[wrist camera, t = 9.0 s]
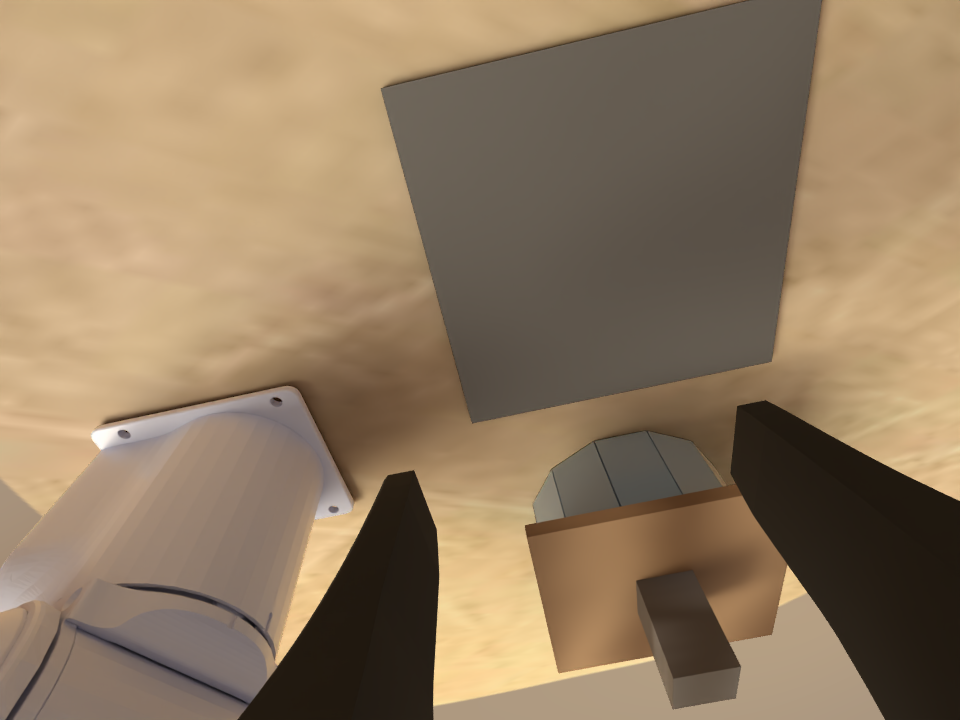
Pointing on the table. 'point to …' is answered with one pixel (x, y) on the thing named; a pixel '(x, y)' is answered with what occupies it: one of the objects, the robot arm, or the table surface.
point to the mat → (611, 203)
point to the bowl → (624, 475)
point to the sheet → (645, 550)
